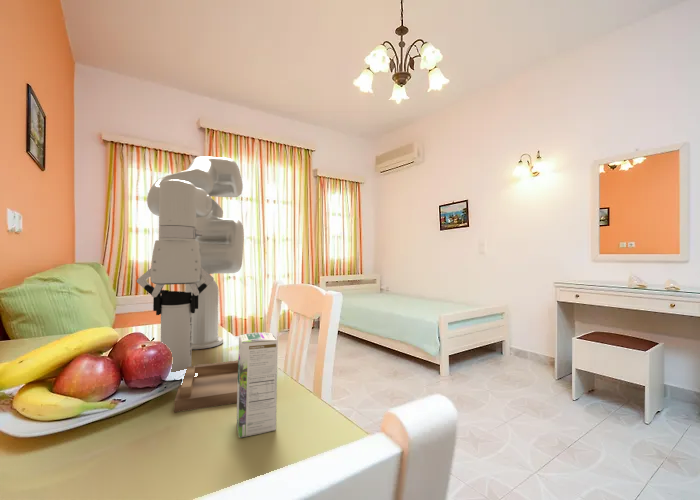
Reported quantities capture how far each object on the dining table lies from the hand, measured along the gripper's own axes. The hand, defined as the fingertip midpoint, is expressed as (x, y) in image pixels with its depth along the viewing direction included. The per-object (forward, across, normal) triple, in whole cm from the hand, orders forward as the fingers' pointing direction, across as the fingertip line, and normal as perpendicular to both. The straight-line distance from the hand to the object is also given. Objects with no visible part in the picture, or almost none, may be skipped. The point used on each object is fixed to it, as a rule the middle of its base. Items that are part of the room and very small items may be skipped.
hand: (176, 312), depth 74 cm
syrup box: (+15, -15, +29) cm, 36 cm away
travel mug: (+15, 0, 0) cm, 15 cm away
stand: (+15, -9, +12) cm, 21 cm away
